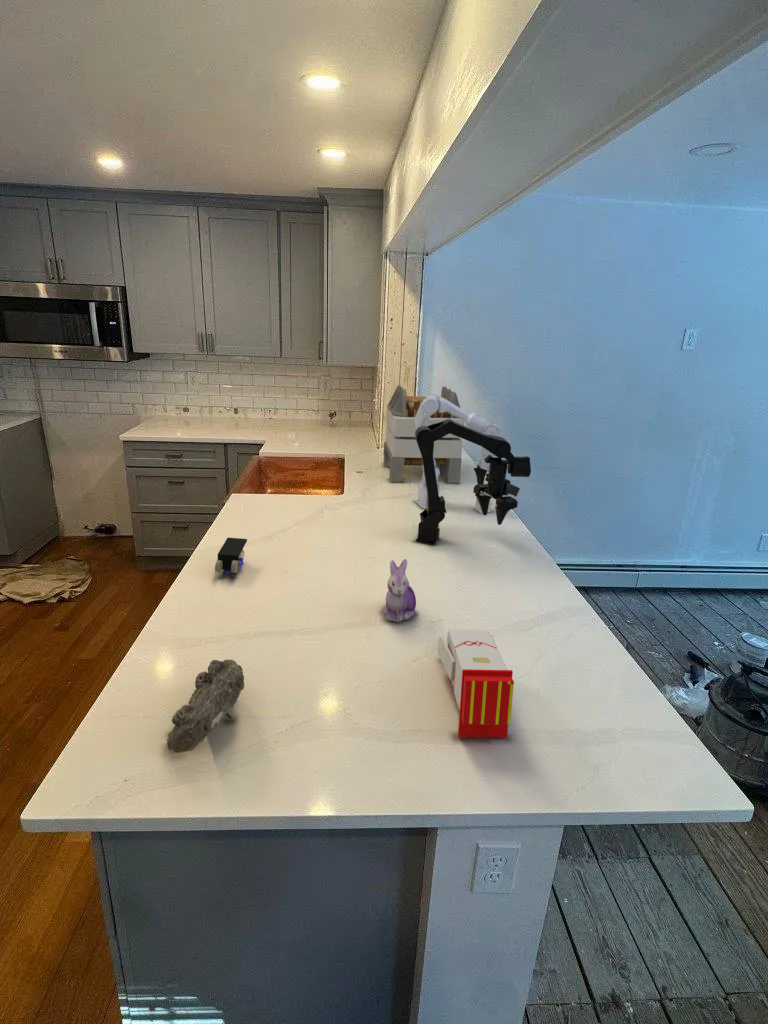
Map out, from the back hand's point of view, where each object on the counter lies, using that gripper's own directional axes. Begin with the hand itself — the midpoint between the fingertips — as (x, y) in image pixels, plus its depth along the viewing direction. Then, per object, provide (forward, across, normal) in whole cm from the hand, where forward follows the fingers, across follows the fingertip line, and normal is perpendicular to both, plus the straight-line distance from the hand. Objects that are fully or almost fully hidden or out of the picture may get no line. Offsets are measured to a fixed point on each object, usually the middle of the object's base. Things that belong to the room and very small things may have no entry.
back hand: (485, 488), depth 224 cm
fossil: (+9, -89, +114) cm, 145 cm away
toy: (+9, -99, +63) cm, 118 cm away
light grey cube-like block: (+9, 0, 0) cm, 9 cm away
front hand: (+1, -30, +15) cm, 33 cm away
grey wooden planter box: (+9, +56, +2) cm, 57 cm away
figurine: (+9, -65, +65) cm, 92 cm away
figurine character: (+9, -26, +102) cm, 105 cm away
